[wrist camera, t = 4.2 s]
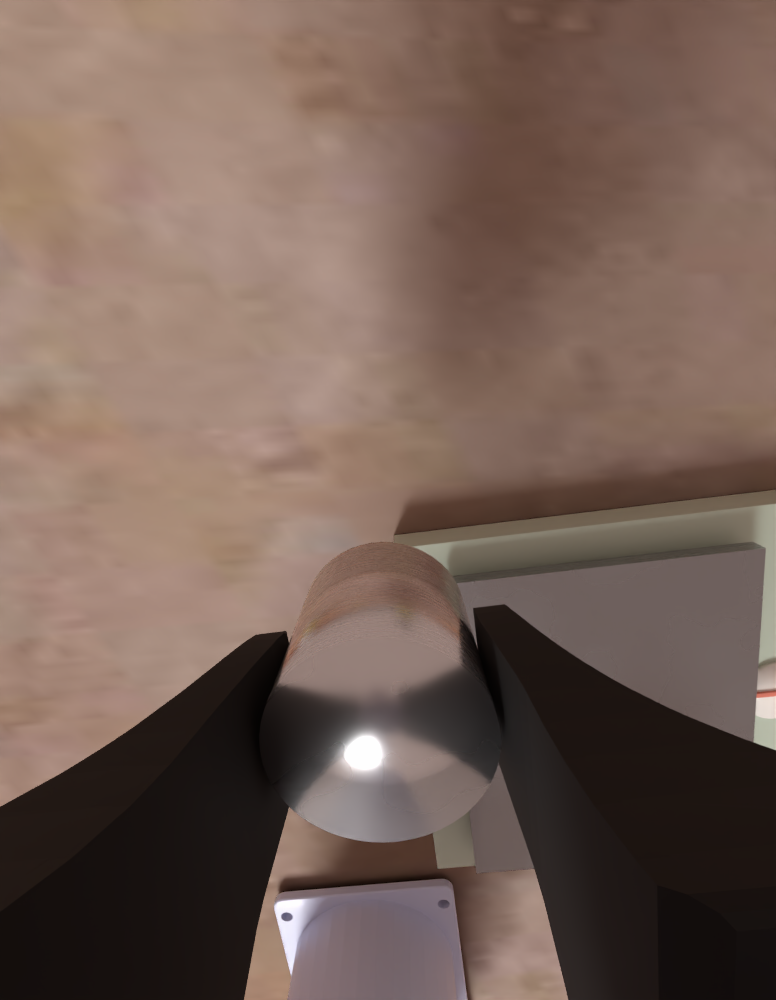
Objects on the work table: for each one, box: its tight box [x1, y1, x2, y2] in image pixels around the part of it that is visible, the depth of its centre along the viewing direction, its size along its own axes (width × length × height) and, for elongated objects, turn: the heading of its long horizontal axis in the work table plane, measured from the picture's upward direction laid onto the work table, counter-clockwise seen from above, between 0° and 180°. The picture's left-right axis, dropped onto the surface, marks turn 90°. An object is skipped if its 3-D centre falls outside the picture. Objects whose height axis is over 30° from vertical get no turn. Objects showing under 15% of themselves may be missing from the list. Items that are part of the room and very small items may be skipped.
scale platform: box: [452, 542, 766, 874], centre depth 18 cm, size 12×10×2 cm
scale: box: [394, 490, 776, 869], centre depth 19 cm, size 14×14×2 cm
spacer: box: [259, 542, 501, 843], centre depth 9 cm, size 4×4×4 cm
